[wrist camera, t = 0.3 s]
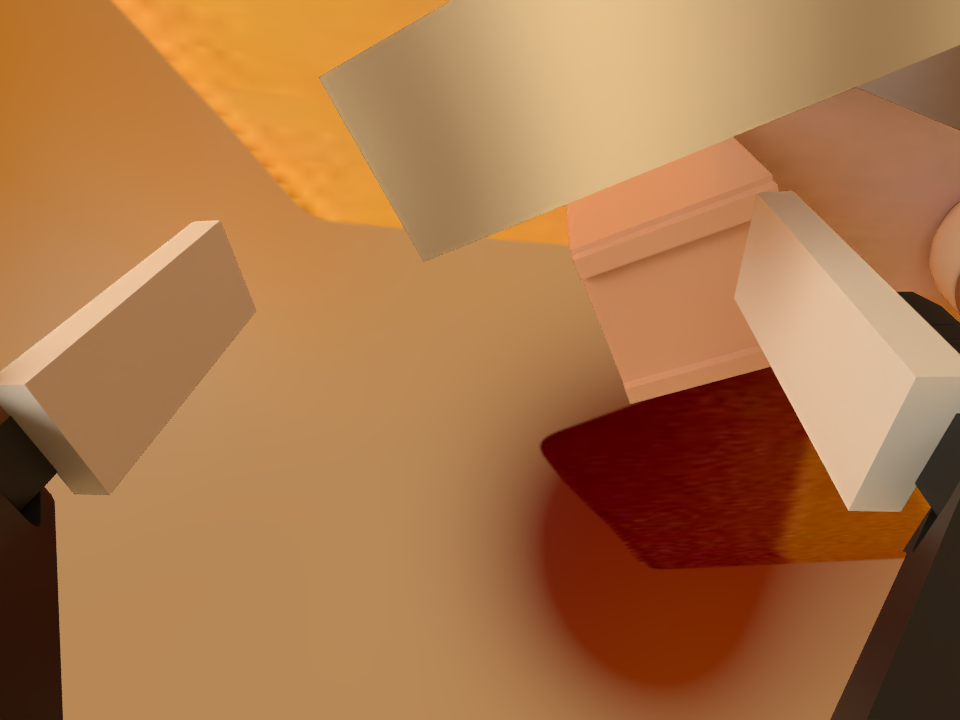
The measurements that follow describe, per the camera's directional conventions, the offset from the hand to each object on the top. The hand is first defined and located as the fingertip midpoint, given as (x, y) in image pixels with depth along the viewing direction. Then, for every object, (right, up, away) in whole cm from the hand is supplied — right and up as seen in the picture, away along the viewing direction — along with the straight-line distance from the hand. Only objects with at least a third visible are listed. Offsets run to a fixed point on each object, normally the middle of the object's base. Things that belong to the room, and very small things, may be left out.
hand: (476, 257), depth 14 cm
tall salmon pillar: (+11, +11, +26) cm, 30 cm away
